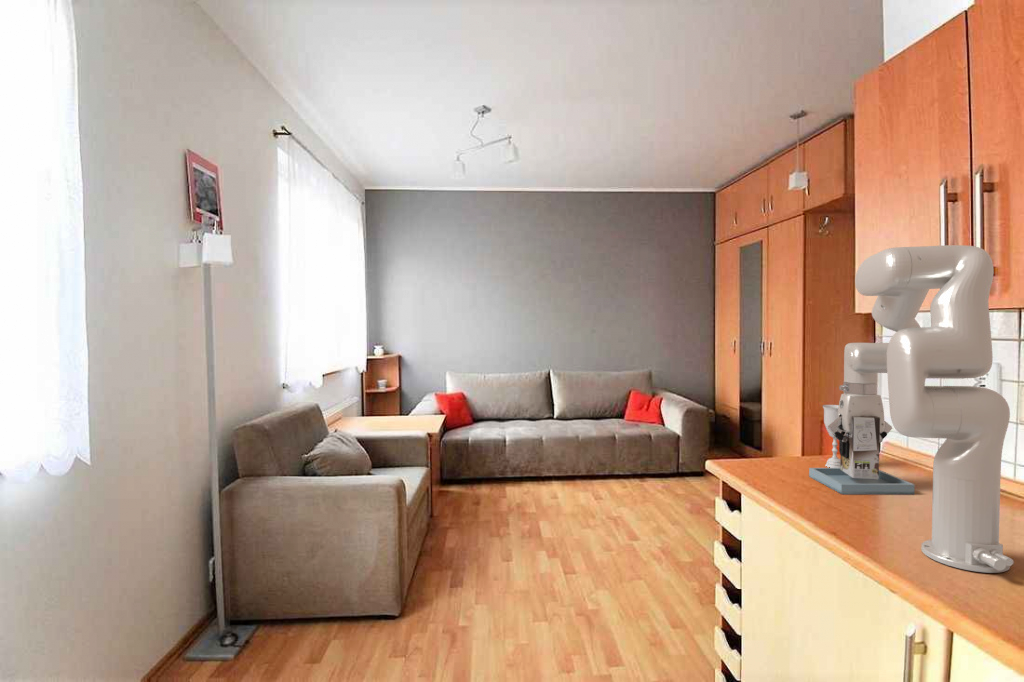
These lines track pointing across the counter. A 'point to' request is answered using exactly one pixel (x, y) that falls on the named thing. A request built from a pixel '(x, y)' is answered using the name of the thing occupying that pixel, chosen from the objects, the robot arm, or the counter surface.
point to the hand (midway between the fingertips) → (859, 455)
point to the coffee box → (863, 448)
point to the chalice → (830, 417)
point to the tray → (860, 482)
